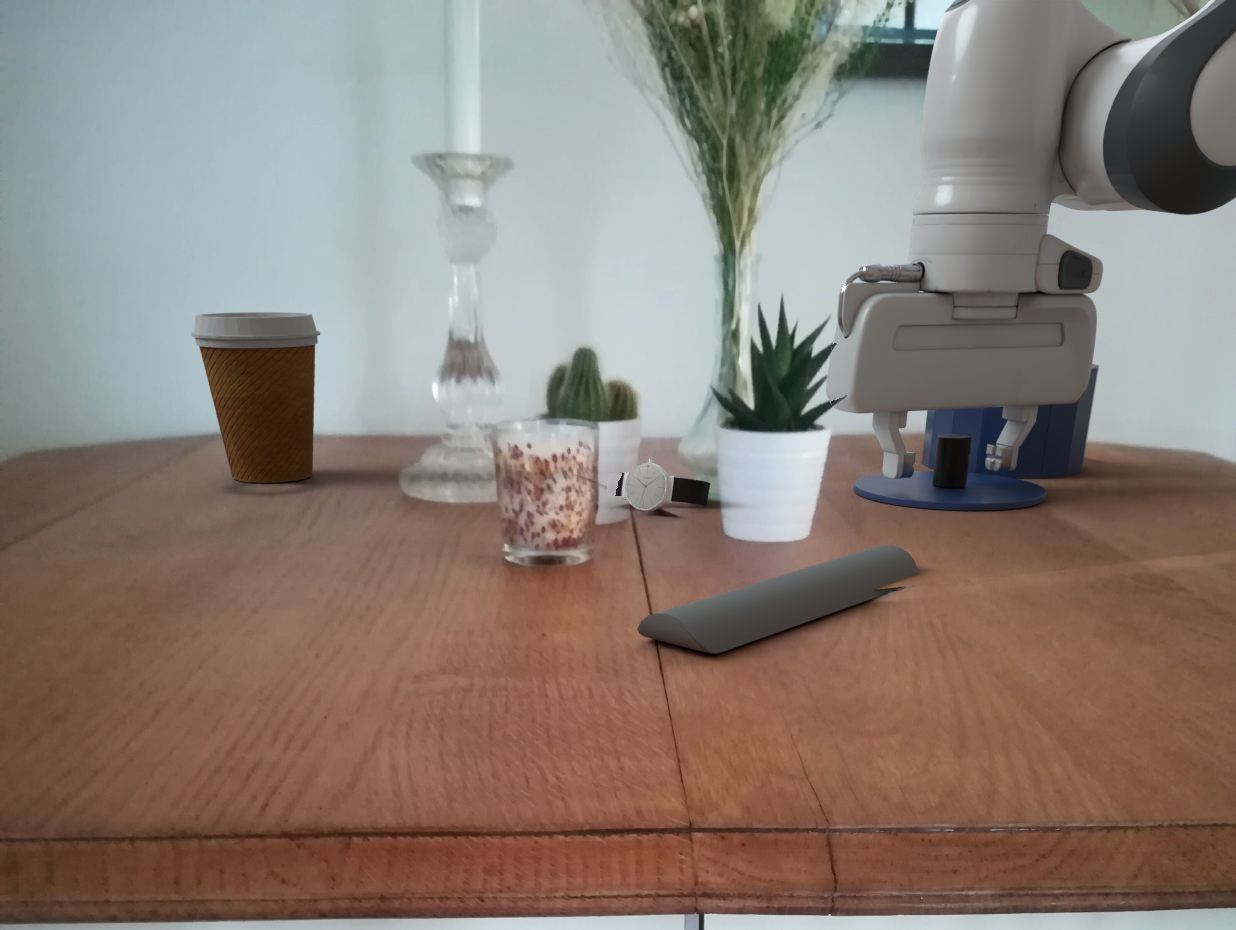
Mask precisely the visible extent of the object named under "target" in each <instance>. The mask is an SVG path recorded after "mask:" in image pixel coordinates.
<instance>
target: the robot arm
mask: <svg viewBox="0 0 1236 930" xmlns="http://www.w3.org/2000/svg"><path fill="white" fill-rule="evenodd" d="M936 31H937V32H936V34H935V39H934V43H933V47H932V50H931V57H930V61H929V66H928V72H927V77H926V83H925V92H924V99H923V106H922V115H921V124H920V133H919V148H920V155H921V162H922V174H921V182H920V186H919V190H918V194H917V196H916V198H915V202H914V204H913V208H912V214H911V215H912V216H911V227H910V237H909V246H908V256H907V257H908V258H907V263H894V264H880V263H866V264H862V265H861V266H860V267H859V268H858V270H857V271H854V272H853V273H852V274H850V275H849V276H848V277H847V278H846V279H845V281H844V283H842V285H841V286H840V289H839V292H838V297H837V298H838V300H837V312H836V319H837V320H836V321H837V324H836V327H835V330H834V331H835V332H834V336H833V342H832V345H833V344H834V343H837V345H836V346H835V347H834V349H833V350H832V349H831V350H832V352H831V351H830V355H829V356H830V357H829V362H828V369H827V374H826V375H827V376H826V378H827V377H828V376H829V378H828V380H827V379H826V384H825V385H826V386H825V394H826V397H827V399H828V401H829V403H831V401H833V400H837V399H839V398H842V397H844V396H845V395H848V396H847V398H845V399H844V400H842V401H840V402H839V403H838V404H837V405H834V406H832V407H833V409H834V410H837V411H841V412H846V413H852V414H860V415H861V414H872V422H871V423H872V424H871V425H872V429H873V431H874V433H875V436H876V438H877V440H878V442H879V445H880V447H881V450H882V451H883V458H882V459H883V460H882V469H881V470H882V473H883V475H884V476H885V477H888V478H891V479H900V478H910V477H912V475H913V474H914V471H915V468H914V465H915V463H916V456H917V455H916V454H917V452H913V451H908V450H907V449H906V447H905V444H904V441H903V438H902V435H901V433H900V429H906V427H907V421H908V413H909V412H918V411H919V412H923V411H927V410H946V409H967V408H988V407H1003V415H1002V417H1003V419H1008V421H1007V423H1006V425H1005V427H1004V429H1003V431H1002V433H1001V435H1000V436H999V438H998V440H997V442H996V443H997V444H987V451H986V454H987V456H988V457H987V458H986V460H985V466H986V468H987V469H988V470H993V471H997V472H998V471H1013V470H1014V469H1015V467H1016V464H1017V457H1018V450H1019V446H1021V444H1022V443H1023V441H1024V440H1025V438H1026V436H1027V435H1028V433H1029V432H1030V430H1031V429H1032V427H1033V425H1034V424H1035V422H1036V418H1037V411H1038V405H1051V404H1072V403H1075V402H1076V401H1077V400H1078V399H1079V398H1080V396H1081V395H1082V393H1083V392H1084V391H1085V389H1086V388H1087V385H1088V382H1089V378H1090V373H1091V368H1092V364H1093V362H1094V356H1095V355H1094V354H1095V346H1096V338H1097V326H1098V313H1097V308H1096V305H1095V302H1094V300H1093V299H1092V298H1091V297H1090V296H1089V295H1087V294H1092V293H1095V292H1097V291H1098V290H1099V288H1100V286H1101V283H1102V280H1103V273H1104V264H1103V262H1102V260H1101V259H1100V258H1099V257H1096V256H1095V255H1092V254H1090V253H1089V252H1086V251H1084V250H1082V249H1079V248H1078V247H1076V246H1074V245H1071V244H1070V243H1068V242H1066V241H1064V240H1062V239H1061V238H1059V237H1057V236H1056V235H1054V234H1052V233H1051V234H1050V233H1048V225H1049V221H1050V211H1051V206H1052V204H1057V205H1059V206H1062V207H1065V208H1068V209H1071V210H1074V211H1075V210H1076V211H1081V212H1097V211H1098V212H1099V211H1105V212H1126V211H1149V212H1150V211H1151V212H1158V213H1166V214H1174V215H1182V216H1193V215H1200V214H1204V213H1208V212H1211V211H1215V210H1217V209H1219V208H1221V207H1223V206H1224V205H1227V204H1229V203H1230V202H1231V201H1233V200H1235V199H1236V0H1209V1H1208V2H1207V3H1206V4H1205V5H1204V6H1203V7H1202V8H1201V9H1199V10H1198V11H1196V12H1195V13H1194V14H1193V15H1191V16H1190V17H1189V18H1187V19H1186V20H1184V21H1183V22H1181V23H1180V24H1178V25H1176V26H1174V27H1172V28H1171V29H1170V30H1167V31H1165V32H1162V33H1160V34H1156V35H1153V36H1149V37H1145V38H1141V39H1138V40H1134V41H1133V38H1132V37H1129V36H1127V35H1125V34H1123V33H1121V32H1119V31H1116V30H1115V29H1113V28H1112V27H1111V26H1109V25H1108V24H1106V23H1105V22H1103V21H1102V20H1101V19H1100V18H1099V17H1097V16H1096V15H1095V14H1094V13H1092V12H1091V11H1090V10H1089V9H1088V8H1087V6H1086V5H1085V4H1084V3H1083V2H1082V1H1081V0H954V1H952V3H951V4H950V6H949V7H947V8H946V10H945V11H944V13H943V15H942V17H941V20H940V22H939V24H938V28H937V30H936ZM858 279H859V281H861V282H854V281H856V280H858Z"/></svg>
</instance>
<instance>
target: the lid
mask: <svg viewBox="0 0 1236 930" xmlns="http://www.w3.org/2000/svg"><path fill="white" fill-rule="evenodd" d="M971 441H972V437H971V436H968V435H962V434H941V435H938V437H937V445H936V454H935V463H934V469H933V470H914V474H913V475H912V477H910V478H900V479H891V478H888V477H885V476H884V475H883V472H881V473H875V474H869V475H866V476H862V477H859V478H858V479H856V480H855V481H853V492H854V493H856V494H857V495H858V496H860V497H863V498H865V499H868V500H871V501H874V502H878V503H884V504H888V505H894V506H900V507H908V508H917V509H924V510H925V509H927V510H939V511H961V512H962V511H963V512H964V511H965V512H976V511H977V512H978V511H979V512H985V511H1005V510H1014V509H1015V510H1016V509H1017V510H1018V509H1023V508H1029V507H1033V506H1037V505H1040V504H1041V503H1044V502H1045V500H1046V499H1047V492H1048V491H1047V489H1046V488H1045V487H1044V486H1042V485H1039V484H1037V483H1034V482H1031V481H1027V480H1025V479H1015V478H1009V477H1003V476H996V475H987V474H978V473H968V466H969V458H970V449H971Z"/></svg>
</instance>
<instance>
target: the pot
mask: <svg viewBox="0 0 1236 930" xmlns="http://www.w3.org/2000/svg"><path fill="white" fill-rule="evenodd" d="M1099 369H1100V365H1099V364H1096V363H1092V368H1091V373H1090V378H1089V382H1088V385H1087V388H1086V389H1085V391H1084V392H1083V393H1082V395H1081V396H1080V398H1079V399H1078V400H1077V401H1076V402H1075V403H1072V404H1051V405H1038V411H1037V418H1036V422H1035V424H1034V425H1033V427H1032V429H1031V430H1030V432H1029V433H1028V435H1027V436H1026V438H1025V440H1024V441H1023V443H1022V444H1021V446H1019V450H1018V457H1017V464H1016V467H1015V469H1014V470H1013V471H998V472H997V471H993V470H988V469H987V468H986V466H985V460H986V458H987V457H988V456H987V454H986V451H987V444H997V443H996V442H997V440H998V438H999V436H1000V435H1001V433H1002V431H1003V429H1004V427H1005V425H1006V423H1007V421H1008V419H1003V417H1002V415H1003V407H988V408H967V409H946V410H926V420H925V428H924V429H925V430H924V437H923V446H922V447H923V448H922V457H921V464H922V465H923V466H925V467H926V468H928V469H930V470H934V463H935V454H936V445H937V437H938V435H941V434H962V435H968V436H971V437H972V441H971V449H970V458H969V466H968V473H978V474H987V475H996V476H1003V477H1009V478H1015V479H1019V480H1044V479H1045V480H1046V479H1057V478H1058V479H1060V478H1068V477H1072V476H1076V475H1079V474H1081V473H1082V472H1083V468H1084V462H1085V456H1086V449H1087V444H1088V437H1089V430H1090V424H1091V417H1092V412H1093V406H1094V400H1095V394H1096V388H1097V383H1098V382H1097V381H1098V376H1099Z"/></svg>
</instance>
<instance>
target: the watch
mask: <svg viewBox="0 0 1236 930" xmlns="http://www.w3.org/2000/svg"><path fill="white" fill-rule="evenodd" d="M621 473H622V476H621V478H620V480H619V481H618V486H617V487H618V488H617V489H616V495H615V496H622V498H627V500H626V501H628V503H629V504H630V505H631V506H632V507H633V508H634V509H636V510H638V511H639V512H640V511H641V512H647V513H648V512H654V511H656V510H658V509H660V507H662V506H663V505H664V504H665V503H668V504H671V502H675V503H682V504H683V503H684V504H691V505H692V504H693V505H698V506H704V507H707V505H708V501H709V495H710V494H709V493H710V489H711V482H710V481H706V480H700V479H693V478H685V477H675V476H674V475H669V474H668V473H667V471H666V470H665V469H664V468H663V467H662V466H661V465H659V464H657V463H654V458H648V462H647V461H646V462H644V463H640V464H637V465H635V466H634V467H633V468H632V469H631V470H630V471H628V472H627V471H624V472H621Z"/></svg>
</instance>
